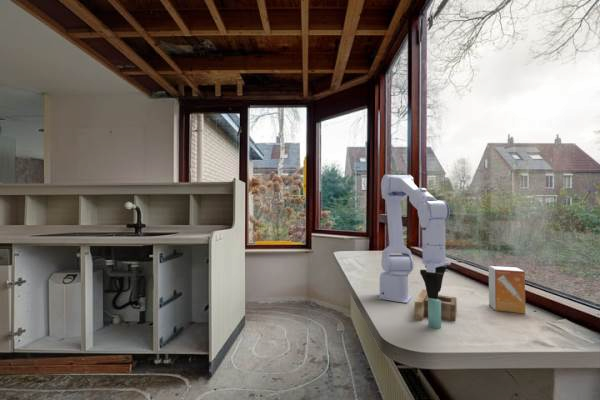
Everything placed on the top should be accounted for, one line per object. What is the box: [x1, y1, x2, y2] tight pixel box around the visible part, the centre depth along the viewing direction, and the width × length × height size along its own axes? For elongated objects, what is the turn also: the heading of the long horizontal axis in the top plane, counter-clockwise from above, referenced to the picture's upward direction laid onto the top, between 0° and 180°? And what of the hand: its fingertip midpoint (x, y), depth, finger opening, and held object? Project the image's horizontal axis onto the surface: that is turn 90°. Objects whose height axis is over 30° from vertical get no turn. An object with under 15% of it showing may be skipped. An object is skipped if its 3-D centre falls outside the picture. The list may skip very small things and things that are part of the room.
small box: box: [488, 265, 526, 314], centre depth 91 cm, size 8×6×13 cm
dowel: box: [427, 298, 442, 329], centre depth 77 cm, size 3×3×7 cm
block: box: [424, 294, 458, 322], centre depth 86 cm, size 8×8×4 cm
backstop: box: [414, 288, 427, 321], centre depth 88 cm, size 2×15×5 cm, turn 149°
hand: (434, 294), depth 77 cm, fingers open, 7 cm apart
